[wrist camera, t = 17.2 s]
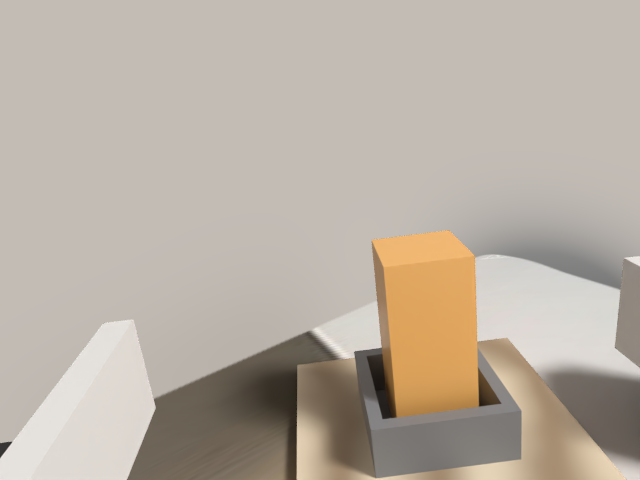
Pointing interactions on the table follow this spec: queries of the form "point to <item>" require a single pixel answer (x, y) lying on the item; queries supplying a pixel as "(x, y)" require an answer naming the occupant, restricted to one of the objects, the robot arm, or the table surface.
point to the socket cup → (437, 425)
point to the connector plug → (427, 322)
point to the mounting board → (510, 476)
